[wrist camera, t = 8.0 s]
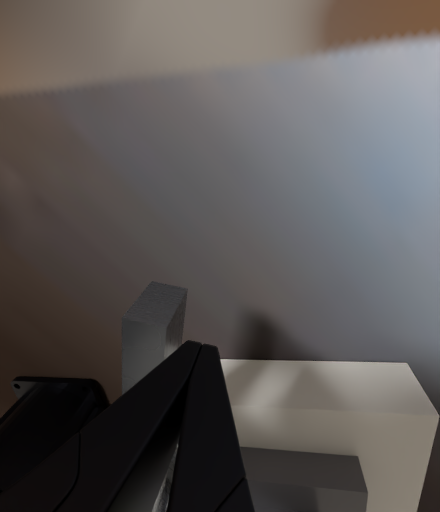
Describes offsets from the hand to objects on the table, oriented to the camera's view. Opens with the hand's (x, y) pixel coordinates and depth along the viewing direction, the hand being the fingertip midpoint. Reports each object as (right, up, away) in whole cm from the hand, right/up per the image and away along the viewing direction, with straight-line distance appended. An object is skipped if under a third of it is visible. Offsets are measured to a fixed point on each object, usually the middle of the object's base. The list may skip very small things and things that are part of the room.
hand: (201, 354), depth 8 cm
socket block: (+4, -10, +11) cm, 15 cm away
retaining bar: (-2, -3, +5) cm, 7 cm away
